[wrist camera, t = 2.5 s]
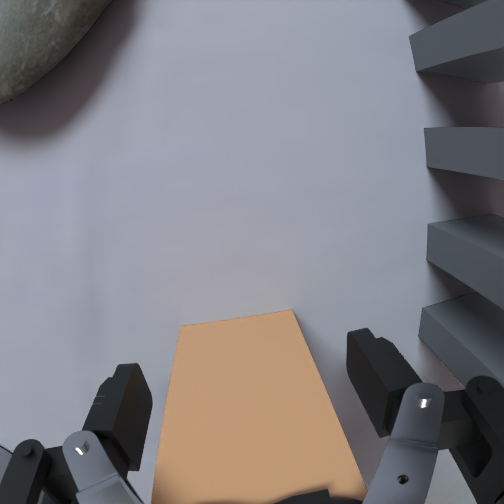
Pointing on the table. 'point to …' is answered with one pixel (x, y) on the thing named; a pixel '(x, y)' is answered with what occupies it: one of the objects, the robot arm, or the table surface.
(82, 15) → the stone
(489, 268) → the domino
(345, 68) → the table surface
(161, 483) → the domino
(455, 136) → the domino
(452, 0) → the domino
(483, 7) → the domino
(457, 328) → the domino
